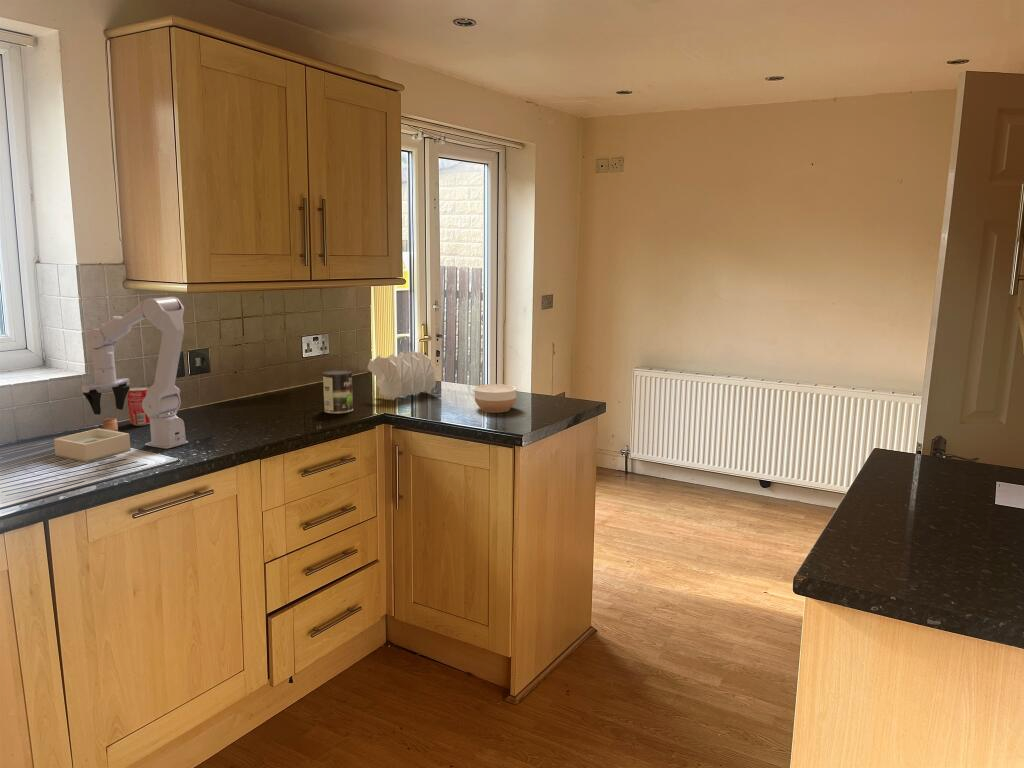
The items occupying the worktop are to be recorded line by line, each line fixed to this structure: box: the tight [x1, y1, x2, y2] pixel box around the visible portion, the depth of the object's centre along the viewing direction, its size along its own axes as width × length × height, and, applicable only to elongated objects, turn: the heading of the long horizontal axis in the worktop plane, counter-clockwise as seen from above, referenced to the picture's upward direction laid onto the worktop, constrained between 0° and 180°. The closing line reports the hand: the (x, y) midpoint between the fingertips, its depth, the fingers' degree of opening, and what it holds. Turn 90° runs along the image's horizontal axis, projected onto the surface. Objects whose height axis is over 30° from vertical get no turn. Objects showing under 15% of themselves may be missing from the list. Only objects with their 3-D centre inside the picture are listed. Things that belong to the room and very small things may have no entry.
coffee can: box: [322, 369, 354, 415], centre depth 272 cm, size 10×10×14 cm
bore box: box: [53, 428, 132, 463], centre depth 218 cm, size 14×14×5 cm
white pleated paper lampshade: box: [367, 349, 437, 401], centre depth 297 cm, size 18×18×25 cm
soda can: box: [126, 386, 150, 427], centre depth 251 cm, size 7×7×12 cm
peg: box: [101, 417, 119, 432], centre depth 233 cm, size 4×4×6 cm
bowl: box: [472, 383, 518, 414], centre depth 276 cm, size 16×16×8 cm
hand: (108, 411), depth 232 cm, fingers open, 7 cm apart
